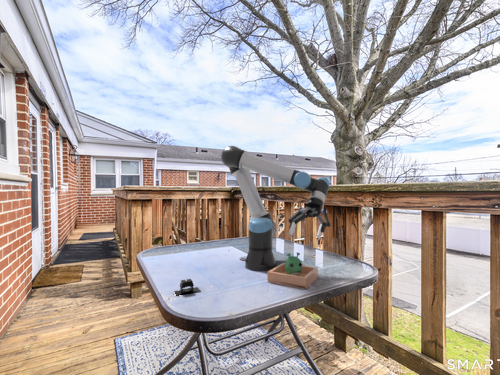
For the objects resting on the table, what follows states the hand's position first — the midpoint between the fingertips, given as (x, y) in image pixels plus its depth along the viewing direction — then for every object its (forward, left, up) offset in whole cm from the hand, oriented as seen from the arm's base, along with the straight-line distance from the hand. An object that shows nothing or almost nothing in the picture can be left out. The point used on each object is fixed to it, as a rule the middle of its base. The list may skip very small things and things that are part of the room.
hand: (303, 236), depth 113 cm
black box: (-30, -43, -17) cm, 55 cm away
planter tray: (-1, -10, -17) cm, 20 cm away
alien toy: (-1, -10, -16) cm, 19 cm away
